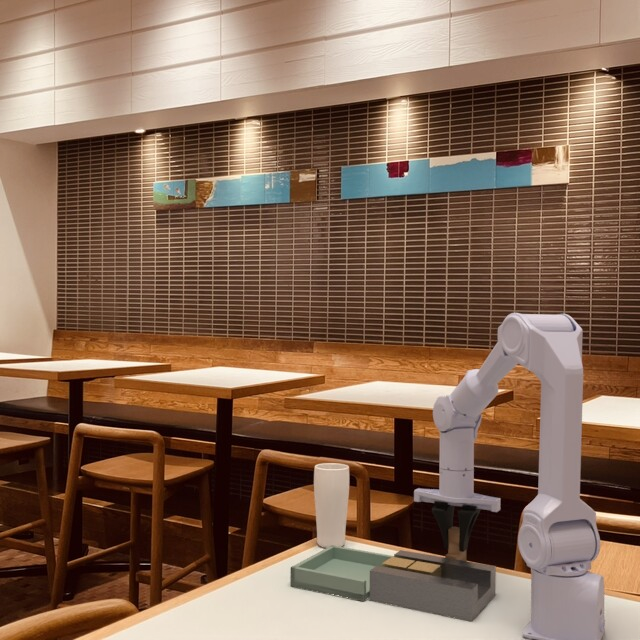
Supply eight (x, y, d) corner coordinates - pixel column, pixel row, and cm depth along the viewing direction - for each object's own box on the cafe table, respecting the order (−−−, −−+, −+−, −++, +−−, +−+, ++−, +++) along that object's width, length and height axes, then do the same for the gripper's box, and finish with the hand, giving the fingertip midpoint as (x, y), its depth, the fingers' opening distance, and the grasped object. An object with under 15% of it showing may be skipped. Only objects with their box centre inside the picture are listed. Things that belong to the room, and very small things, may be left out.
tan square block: (440, 581, 116) (441, 565, 116) (431, 589, 112) (431, 572, 112) (416, 576, 118) (417, 561, 118) (407, 584, 114) (407, 568, 114)
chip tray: (399, 574, 124) (400, 557, 124) (363, 601, 112) (363, 581, 112) (331, 562, 131) (331, 545, 131) (290, 586, 119) (290, 567, 119)
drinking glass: (345, 551, 137) (346, 470, 137) (309, 549, 138) (310, 468, 139) (351, 541, 144) (352, 463, 144) (317, 538, 145) (318, 462, 145)
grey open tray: (495, 595, 116) (495, 566, 116) (471, 621, 105) (472, 589, 105) (400, 577, 123) (400, 550, 123) (369, 600, 113) (369, 570, 113)
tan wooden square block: (415, 576, 118) (415, 560, 118) (405, 584, 114) (405, 567, 114) (391, 572, 120) (392, 556, 120) (381, 579, 116) (381, 563, 116)
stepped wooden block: (466, 564, 127) (466, 525, 127) (456, 572, 122) (457, 532, 122) (455, 562, 128) (455, 524, 128) (445, 570, 123) (445, 531, 123)
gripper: (505, 468, 125) (505, 549, 125) (424, 460, 132) (424, 536, 132) (493, 475, 119) (493, 560, 119) (409, 466, 126) (408, 546, 126)
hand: (455, 548), depth 125 cm, fingers closed on stepped wooden block, 2 cm apart
